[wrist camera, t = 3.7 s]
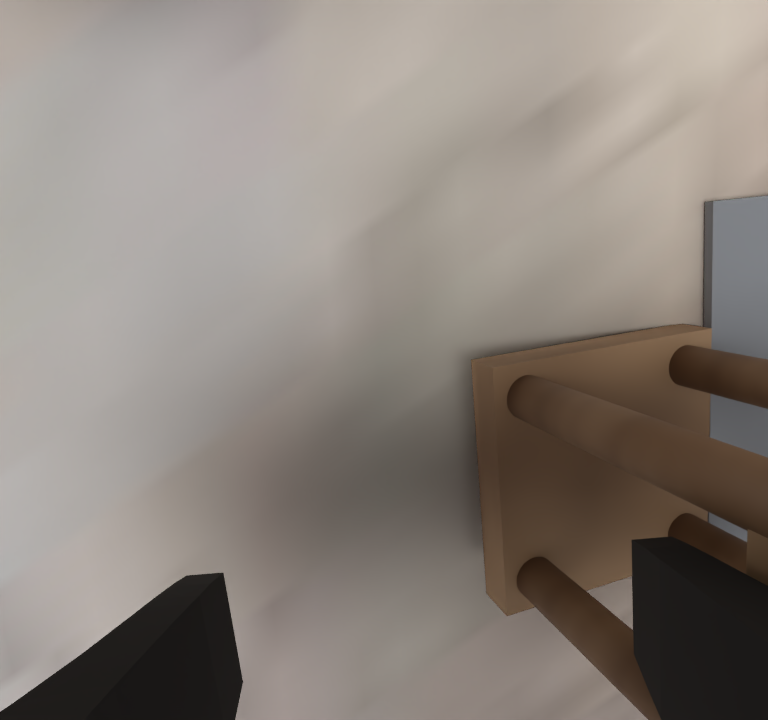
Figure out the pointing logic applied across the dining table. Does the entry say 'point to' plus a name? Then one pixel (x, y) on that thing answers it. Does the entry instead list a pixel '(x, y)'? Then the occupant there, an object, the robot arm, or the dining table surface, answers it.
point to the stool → (611, 475)
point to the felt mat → (737, 315)
